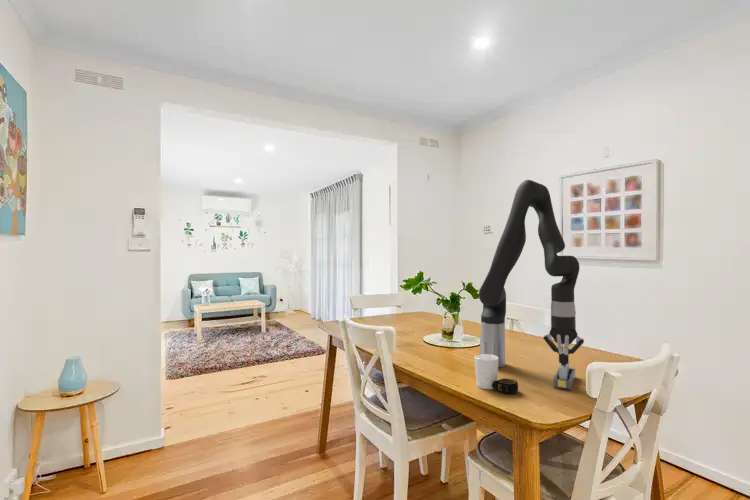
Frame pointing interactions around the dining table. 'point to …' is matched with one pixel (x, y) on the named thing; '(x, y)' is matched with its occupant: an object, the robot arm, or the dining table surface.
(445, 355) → the dining table surface
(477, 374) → the white cup
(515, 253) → the robot arm
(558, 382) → the box
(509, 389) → the tape measure
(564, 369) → the panel
